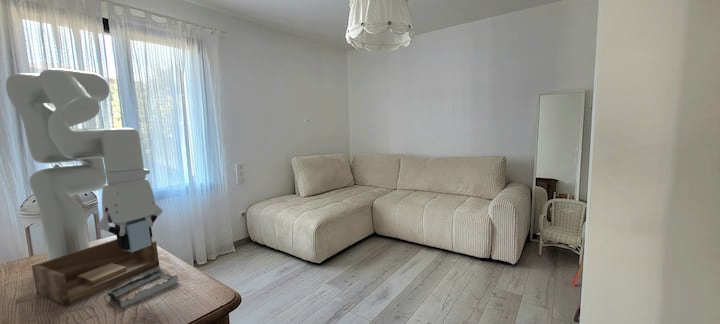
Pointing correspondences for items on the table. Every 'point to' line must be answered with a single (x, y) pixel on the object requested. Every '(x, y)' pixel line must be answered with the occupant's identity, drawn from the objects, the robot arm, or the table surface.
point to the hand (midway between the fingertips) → (136, 244)
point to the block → (138, 234)
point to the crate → (90, 271)
